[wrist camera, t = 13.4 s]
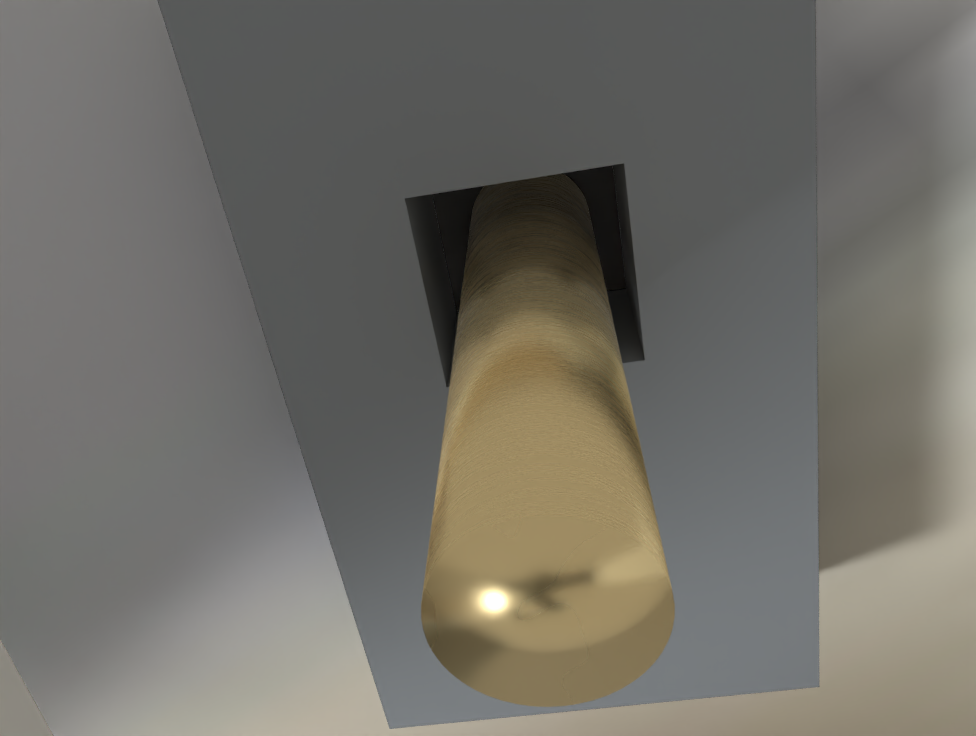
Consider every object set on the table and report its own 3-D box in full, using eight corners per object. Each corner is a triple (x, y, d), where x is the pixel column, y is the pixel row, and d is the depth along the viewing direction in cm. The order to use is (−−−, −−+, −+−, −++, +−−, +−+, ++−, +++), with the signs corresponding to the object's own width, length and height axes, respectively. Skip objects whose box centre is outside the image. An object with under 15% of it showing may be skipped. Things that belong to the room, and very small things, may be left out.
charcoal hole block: (782, 586, 29) (819, 686, 25) (404, 627, 30) (389, 728, 26) (760, -139, 19) (814, -141, 16) (215, -35, 21) (153, -15, 17)
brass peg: (596, 269, 24) (682, 695, 11) (481, 285, 24) (445, 716, 12) (583, 155, 22) (665, 500, 10) (461, 174, 23) (397, 531, 10)
